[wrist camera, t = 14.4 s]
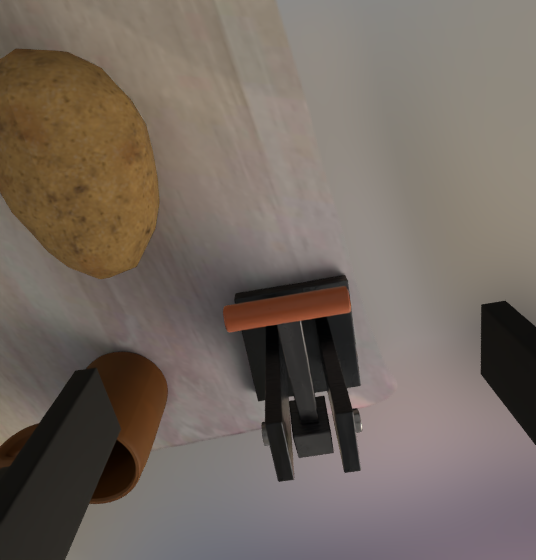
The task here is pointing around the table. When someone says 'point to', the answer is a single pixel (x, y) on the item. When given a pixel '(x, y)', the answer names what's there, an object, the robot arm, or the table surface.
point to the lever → (296, 355)
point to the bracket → (324, 371)
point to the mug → (131, 416)
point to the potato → (76, 161)
